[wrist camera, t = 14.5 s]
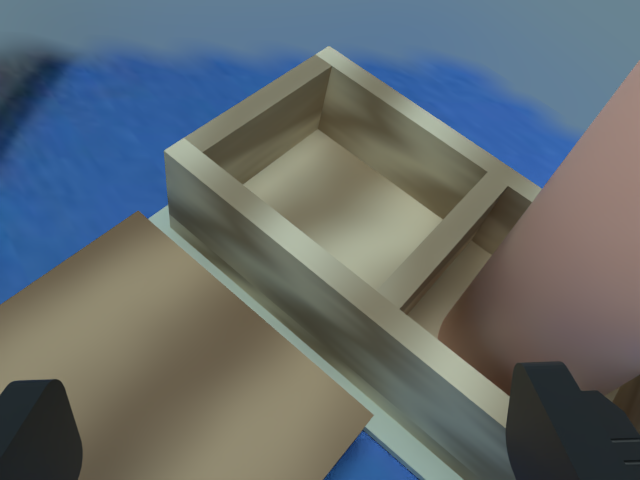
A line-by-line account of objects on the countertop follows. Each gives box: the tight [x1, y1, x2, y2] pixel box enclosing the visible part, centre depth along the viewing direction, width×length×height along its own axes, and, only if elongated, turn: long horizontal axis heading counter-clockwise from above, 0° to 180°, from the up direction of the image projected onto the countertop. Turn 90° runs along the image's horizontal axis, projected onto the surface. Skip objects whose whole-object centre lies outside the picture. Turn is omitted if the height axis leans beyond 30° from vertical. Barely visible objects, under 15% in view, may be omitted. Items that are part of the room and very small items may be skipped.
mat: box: [148, 205, 464, 480], centre depth 26 cm, size 22×12×1 cm, turn 50°
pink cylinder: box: [438, 60, 640, 396], centre depth 18 cm, size 6×6×14 cm
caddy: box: [164, 46, 640, 480], centre depth 24 cm, size 20×10×5 cm, turn 50°
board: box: [0, 211, 374, 480], centre depth 20 cm, size 12×10×3 cm
